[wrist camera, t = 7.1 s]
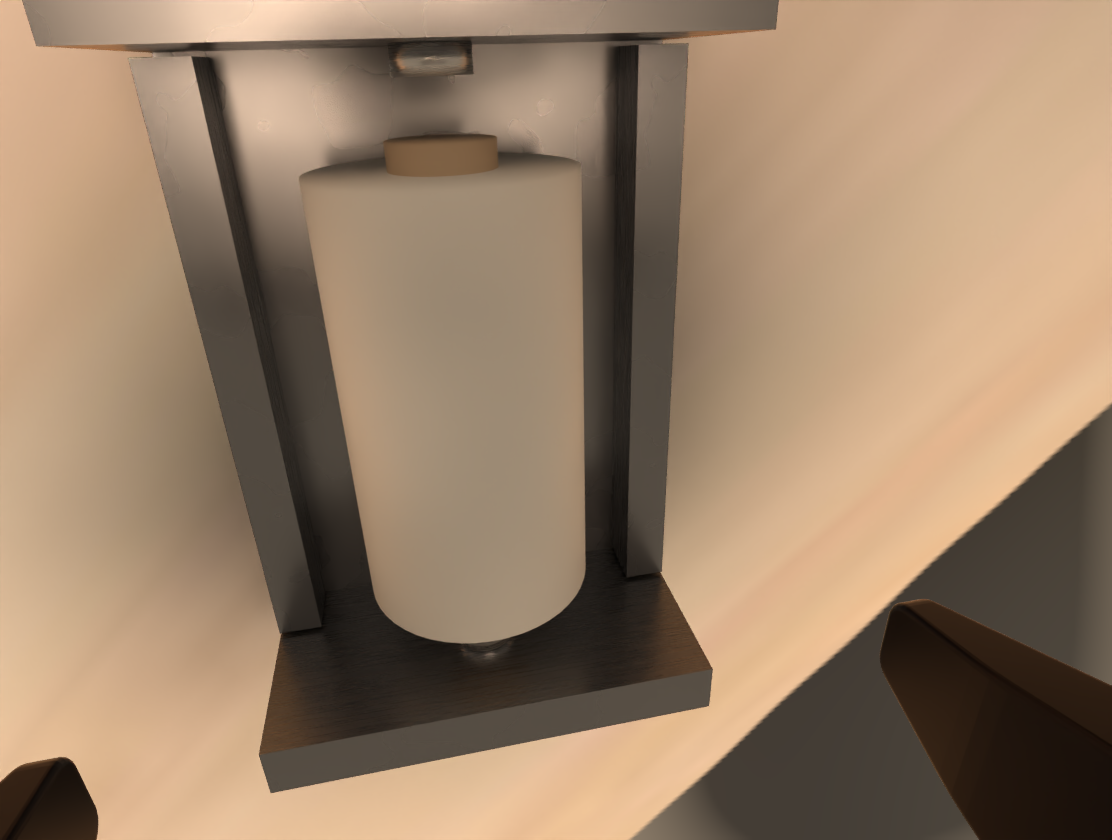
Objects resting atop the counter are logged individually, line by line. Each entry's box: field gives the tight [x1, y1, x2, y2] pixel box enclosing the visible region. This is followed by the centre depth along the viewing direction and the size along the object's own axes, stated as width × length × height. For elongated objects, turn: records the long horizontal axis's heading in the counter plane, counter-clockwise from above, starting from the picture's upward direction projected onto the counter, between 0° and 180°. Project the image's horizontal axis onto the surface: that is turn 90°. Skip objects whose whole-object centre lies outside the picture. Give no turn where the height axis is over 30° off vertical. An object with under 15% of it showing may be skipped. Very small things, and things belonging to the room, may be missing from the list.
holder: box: [22, 0, 779, 793], centre depth 15 cm, size 10×16×6 cm, turn 2°
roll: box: [299, 134, 586, 643], centre depth 15 cm, size 10×5×5 cm, turn 2°
